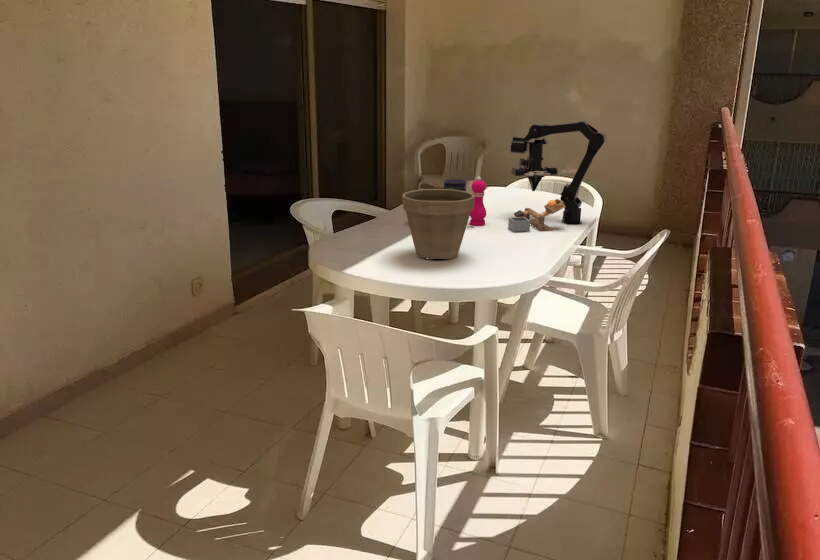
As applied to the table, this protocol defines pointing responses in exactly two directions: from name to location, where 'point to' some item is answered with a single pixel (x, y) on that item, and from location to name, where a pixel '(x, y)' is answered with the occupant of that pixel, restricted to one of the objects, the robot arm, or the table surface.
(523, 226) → the grey open box
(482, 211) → the pepper mill
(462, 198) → the plant pot
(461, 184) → the storage jar
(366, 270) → the table surface
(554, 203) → the ball
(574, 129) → the robot arm
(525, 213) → the catapult lever
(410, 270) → the table surface
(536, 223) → the frame
